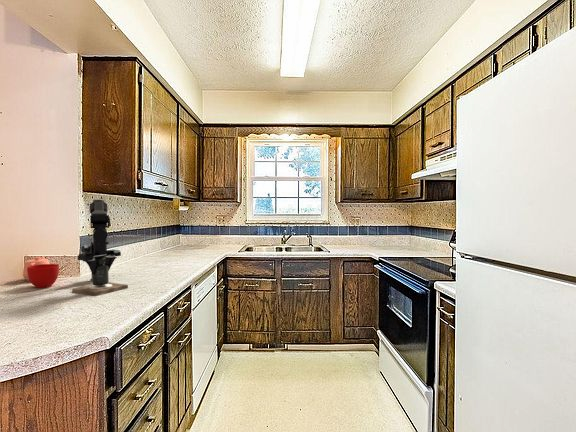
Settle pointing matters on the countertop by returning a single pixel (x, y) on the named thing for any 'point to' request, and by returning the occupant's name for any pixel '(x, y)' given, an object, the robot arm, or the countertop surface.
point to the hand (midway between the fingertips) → (100, 273)
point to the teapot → (33, 262)
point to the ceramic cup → (43, 274)
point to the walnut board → (99, 288)
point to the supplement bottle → (101, 272)
